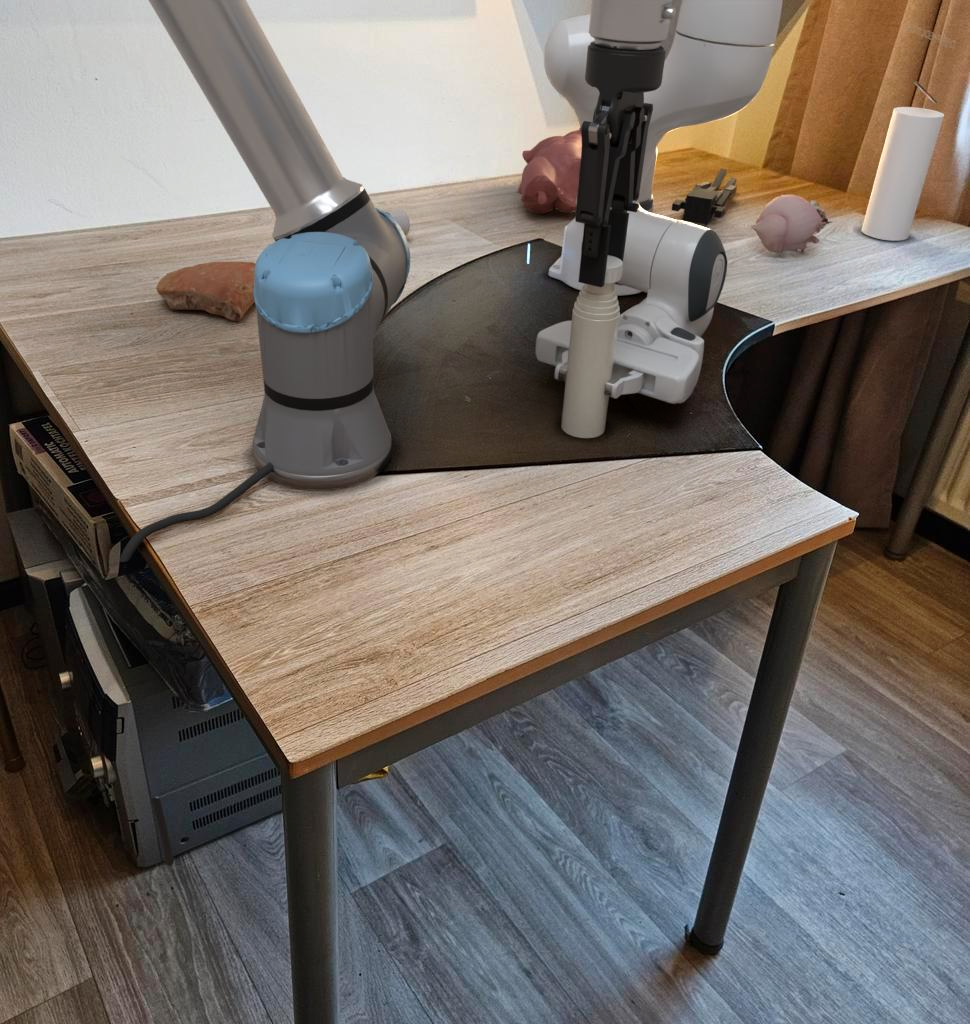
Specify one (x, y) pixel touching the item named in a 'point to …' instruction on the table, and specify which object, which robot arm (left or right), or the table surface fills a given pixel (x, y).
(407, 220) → the electric motor
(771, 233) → the toy
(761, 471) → the table surface
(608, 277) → the cap
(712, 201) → the toy
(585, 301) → the bottle
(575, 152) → the pink faceted figure
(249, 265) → the ceramic shard
